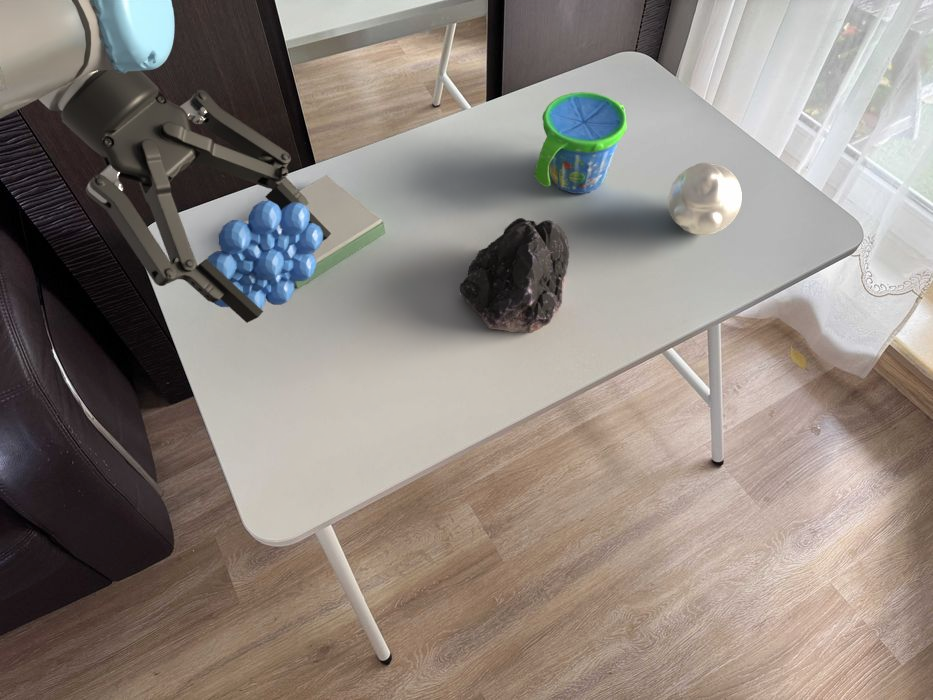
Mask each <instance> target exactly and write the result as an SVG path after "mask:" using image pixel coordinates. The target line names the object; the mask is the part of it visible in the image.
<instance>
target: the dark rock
mask: <svg viewBox="0 0 933 700" xmlns="http://www.w3.org/2000/svg"><path fill="white" fill-rule="evenodd" d="M569 259H570V242H569V238H568V235H567V234H565V231H564V229H563V228H562V227H561V225H559V224H558V223H557V222H555V221H553V220H551V219H547V220H543V221H542V222H541V221H540V222H539V223H538V224H537V223H536V221H535V220H529V219H528V220H527V219H525V218H524V217H518V218H516V219H515V220H513V221H512V222H511V223H510V224H509V225H508V226H507V227H505V228H504V231H503V233H502V234H501V235H500V236H499V237H497V238H496V239H495V240H494V241H492V242H490V243H489V244H488V246H487V247H485V248H481V250H478V252H477V254H476V256H475V258H474V259H472V260H471V262H470V264H469V265H468V269H467V274H466V275H467V276H466V277H464V278H465V279H464V280H463V281H462V282H461V283H460V286H459V294H460V295H461V296H462V297H463V298H464V300H465V301H466V302H467V303H468V304H469V305H470V307H471V308H472V309H473V311H475V312H476V313H477V314H478V315H480V316H481V319H482V321H483V322H484V323H485V325H486V327H487V328H488V329H491V330H492V329H493V330H499V331H506V332H510V333H517V332H523V333H529V334H532V333H534V332H536V331H538V330H541V328H543V327H544V326H547V325H548V324H550V323H551V321H552V319H553V317H554V316H555V315H556V314H557V313H558V311H559V308H561V307H562V304H563V294H564V293H565V287H566V278H567V271H568V265H569Z"/></svg>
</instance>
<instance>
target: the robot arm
mask: <svg viewBox="0 0 933 700" xmlns="http://www.w3.org/2000/svg"><path fill="white" fill-rule="evenodd" d="M174 40H175V14H174V7H173V2H172V0H0V119H3V118H5V117H7V116H9V115H10V114H12V113H14V112H16V111H18V110H19V109H21V108H23V107H25V106H27V105H29V104H31V103H33V102H35V101H37V100H39V102H40V103H41V104H43V105H44V106H45V107H46V108H47V109H48V110H49V111H52V112H58V111H59V112H60V111H61V113H60V117H61V122H62V123H63V124H64V125H65V126H66V127H67V128H69V130H70V131H72V132H73V133H74V134H75V135H76V136H77V137H78V138H79V139H81V141H83V142H84V143H85V144H86V145H87V146H88V147H89V148H90V149H91V150H93V152H96V153H97V154H98V155H99V156H100V157H101V159H103V162H104V163H105V166H106V167H105V168H104V169H103V170H102V171H101V172H100V173H96V174H94V175H93V176H92V177H91V178H90V180H89V182H88V183H87V186H86V187H85V193H86V195H87V196H88V197H89V198H90V199H92V200H93V202H95V203H97V205H99V206H101V208H102V209H104V210H105V211H106V212H107V214H108V215H109V217H110V218H111V219H112V221H113V222H114V224H115V226H116V227H117V229H118V230H119V231H120V233H121V234H122V236H123V237H124V239H125V240H126V242H127V243H128V245H129V246H130V248H131V249H132V251H133V252H134V254H135V255H136V257H137V258H138V260H139V261H140V263H141V264H142V266H143V267H144V269H145V270H146V272H147V274H148V275H149V276H150V278H151V279H152V281H153V282H154V283H155V285H157V286H158V287H164V286H166V285H168V284H171V283H172V282H175V281H177V280H183V281H185V282H186V283H188V285H190V286H191V288H193V289H194V290H195V291H197V293H198V294H200V295H201V296H202V297H203V298H204V299H205V300H206V301H208V302H210V303H212V304H215V302H216V301H218V300H219V299H221V300H222V301H223V302H224V303H225V304H226V305H228V306H229V307H228V308H230V309H231V310H232V311H233V312H234V313H235V314H236V315H237V316H238V317H240V319H242V320H243V321H244V322H245V323H246V324H248V323H249V322H252V321H254V320H256V319H257V318H259V317H260V316H261V315H262V314H263V313H264V310H262V309H260V308H259V307H258V306H257V305H256V304H255V303H254V302H253V301H251V300H250V299H249V298H248V297H247V296H246V295H245V294H244V293H243V292H242V291H241V290H240V289H238V288H237V287H236V286H235V285H234V284H233V283H232V282H231V281H230V280H229V279H228V278H227V277H225V276H224V275H223V274H222V273H221V272H220V271H219V270H218V269H217V268H216V267H215V266H213V265H212V264H211V263H210V262H209V261H208V260H207V258H205V259H204V260H202V261H201V262H200V263H199V264H197V260H196V258H195V255H194V252H193V249H192V247H191V244H190V241H189V238H188V236H187V233H186V230H185V227H184V225H183V222H182V219H181V217H180V214H179V211H178V208H177V206H176V203H175V200H174V198H173V195H172V186H171V183H170V182H172V181H173V179H175V178H176V176H177V175H178V174H179V173H180V172H182V171H184V170H185V169H186V168H188V166H190V164H193V165H196V166H206V167H207V168H211V169H214V170H217V171H219V172H222V173H225V174H228V175H230V176H233V177H236V178H237V179H242V180H244V181H246V182H250V183H252V184H255V185H258V186H259V187H263V188H266V189H270V191H269V192H268V193H267V194H266V195H265V198H266V199H267V201H272V202H274V203H275V204H277V205H278V206H279V208H280V210H281V211H282V209H283V208H284V207H285V206H286V205H288V204H290V203H294V202H299V203H301V204H303V205H305V206H307V204H308V201H307V199H306V198H305V197H304V196H303V195H302V194H301V193H300V192H299V191H300V190H299V189H298V188H297V187H296V186H295V185H294V184H293V183H292V182H291V180H289V179H288V178H287V176H288V175H289V170H288V165H289V164H290V162H291V160H292V156H291V154H290V153H289V152H288V151H287V150H285V149H284V148H282V147H280V146H279V145H277V144H276V143H275V142H273V141H271V140H270V139H268V138H267V137H265V136H264V135H262V134H261V133H259V132H257V131H256V130H254V129H253V128H252V127H250V126H249V125H247V124H245V123H244V122H242V121H241V120H239V119H238V118H236V117H235V116H233V115H231V114H230V113H229V112H227V111H226V110H224V109H223V108H221V107H220V106H219V105H218V104H217V102H216V101H215V100H214V99H213V98H212V97H211V96H210V94H209V93H208V92H207V91H206V90H204V89H201V88H200V89H197V90H196V91H195V92H194V93H193V95H191V97H190V98H189V99H188V100H187V101H185V102H184V103H182V104H181V105H179V104H175V103H173V102H172V101H170V100H168V99H167V98H166V97H165V96H164V94H163V93H162V92H161V90H160V89H159V87H158V86H157V85H156V84H155V83H154V82H153V80H151V79H150V78H149V77H148V76H147V75H146V74H145V73H144V71H151V70H155V69H158V68H159V67H161V66H162V65H163V64H164V63H165V62H166V61H167V59H168V58H169V56H170V54H171V52H172V48H173V44H174ZM190 121H192V123H193V124H195V125H202V127H203V128H204V129H206V130H207V131H209V132H210V133H212V134H213V135H215V136H216V137H218V138H220V139H221V140H223V141H224V142H226V143H228V144H229V145H231V146H232V147H234V148H235V149H237V150H239V151H237V150H234V149H231V148H229V147H226V146H224V145H221V144H218V143H216V142H215V141H214V140H213V139H212V138H210V137H208V136H205V135H202V134H200V133H197V132H195V131H192V128H191V127H192V126H191V124H190ZM119 178H121V179H125V180H129V181H133V182H137V183H138V184H139V186H140V187H139V188H140V189H141V192H142V195H143V197H144V200H145V202H146V203H147V204H148V205H149V208H150V211H151V214H152V216H153V219H154V221H155V224H156V227H157V230H158V232H159V235H160V238H161V240H162V243H163V246H164V248H165V249H164V250H165V251H166V252H164V250H163V249H162V246H160V244H159V243H158V241H157V239H156V238H155V236H154V235H153V233H152V231H151V230H150V229H149V227H148V226H147V224H146V223H145V221H144V219H143V218H142V217H141V215H140V213H139V212H138V210H137V209H136V207H135V205H134V204H133V203H132V201H131V200H130V199H129V197H128V195H126V194H125V192H124V185H123V183H122V182H121V181H120V179H119ZM309 212H310V211H309ZM309 223H314V224H316V225H318V226H320V228H321V230H322V232H323V241H324V240H325V239H327V238H328V237H329V236H330V234H331V233H330V232H329V231H328V230H327V229H326V228H325V227H324V226H323V225H322V224H321V222H320V221H319V220H318V219H317V218H316V217H315V216H314V215H313V214H312V213H311V212H310V221H309ZM166 254H167V255H166Z"/></svg>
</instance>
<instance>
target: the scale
mask: <svg viewBox="0 0 933 700" xmlns="http://www.w3.org/2000/svg"><path fill="white" fill-rule="evenodd" d="M298 191H299V192H300V193H301V194H302V195H303V196H304V197H305V198H306V199H307V201H308V204H307V206H306V207H307V208H308V210H309V211H310V212H311V213H312V214H313V215H314V216H315V217H316V218H317V219H318V220H319V221H320V222H321V224H322V225H323V226H324V227H325V228H326V229H327V230H328V231H329V232H330V233H331V234H330V236H329V237H328V238H327V239H325V240H324V241H322V243H321V245H320V247H319V248H318V249H317V250H316V251H315V252H314V253H311V254H313V255H314V257H315V259H316V261H317V262H316V269H315V271H314V274H313V275H312V276H311V277H310V278H309V279H308V280H305V281H294V280H293V282H294V287H295V288H297V289H300V288H302V287H303V286H305V285H306V284H308V283H309V282H311V281H312V280H314V279H315V278H318V277H319V276H320V275H322V274H324V273H325V272H326V271H328V270H330V269H331V268H333V267H335V266H336V265H337V264H339V263H341V262H342V261H344V260H346V259H348V257H351V256H352V255H353V254H356V252H358V251H360V250H361V249H363V248H365V247H367V245H370V244H371V243H372V242H374V241H375V240H377V239H378V238H381V236H384V235H385V234H386V227H385V223H384V222H383V221H382V219H381V218H380V217H379V216H377V215H376V214H375V213H374V212H372V211H371V210H370V209H369V208H367V207H366V206H365V205H364V204H363V203H362V202H360V201H359V200H358V199H357V198H355V197H354V196H353V195H352V194H350V193H349V192H348V191H347V190H345V189H344V188H343V187H342V186H341V185H340V184H338V183H337V182H336V181H335V180H333V179H332V178H331V177H330V176H329V175H327V174H326V175H324V176H322V177H321V178H319V179H317V180H315V181H313V182H312V183H310V184H308V185H307V186H305V187H303V188H302V189H299V190H298ZM248 220H249V219H248ZM248 220H247V219H246V220H245V221H244V222H245V223H247V224H248Z"/></svg>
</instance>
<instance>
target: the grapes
mask: <svg viewBox="0 0 933 700" xmlns="http://www.w3.org/2000/svg"><path fill="white" fill-rule="evenodd" d="M309 221H310V212H309V210H308V208H307V207H306V206H305V205H303V204H301V203H299V202H294V203H290V204H288V205H286V206H285V207H284V208H283V209H282V211H281V210H280V208H279V206H278V205H277V204H275V203H274V202H272V201H269V200H262V201H260V202H258V203H256V204H255V205H253V206H252V209H251V211H250V213H249V215H248V224H247V223H245V222H246V221H243V220H240V219H232V220H230V221H229V222H227V223H226V224H224V225H223V226H222V228H221V230H220V232H219V234H218V237H217V238H218V241H217V242H218V243H217V244H218V246H219V248H220V249H221V250H216V251H214V252H212V253H211V254H210V255H208V256H207V258H206V259H207V260H208V261H209V262H210V263H211V264H212V265H213V266H215V267H216V268H217V269H218V270H219V271H220V272H221V273H222V274H223V275H224V276H225V277H227V278H228V279H229V280H230V281H231V282H232V283H233V284H234V285H235V286H236V287H237V288H238V289H240V290H241V291H242V292H243V293H244V294H245V295H246V296H247V297H248V298H249V299H250V300H251V301H253V302H254V303H255V304H256V305H257V306H258V307H259V308H260V309H261V310H262V309H263V308H264V306H265V304H266V301H267V303H269V304H271V305H273V306H281V305H284V304H287V303H288V301H290V299H291V298H292V297H293V295H294V293H295V285H294V282H293V280H294V281H305V280H308V279H309V278H310V277H311V276H312V275H313V274H314V271H315V269H316V262H317V261H316V259H315V257H314V255H313V254H311V253H314V252H315V251H316V250H317V249H318V248H319V247H320V245H321V243H322V241H323V232H322V230H321V228H320V226H318V225H316V224H314V223H309ZM214 305H216V306H218V307H220V308H230V307H229V306H228V305H226V304H225V303H224V302H223V301H222V300H221V299H219V300H218V301H216V302H215V303H214Z"/></svg>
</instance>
